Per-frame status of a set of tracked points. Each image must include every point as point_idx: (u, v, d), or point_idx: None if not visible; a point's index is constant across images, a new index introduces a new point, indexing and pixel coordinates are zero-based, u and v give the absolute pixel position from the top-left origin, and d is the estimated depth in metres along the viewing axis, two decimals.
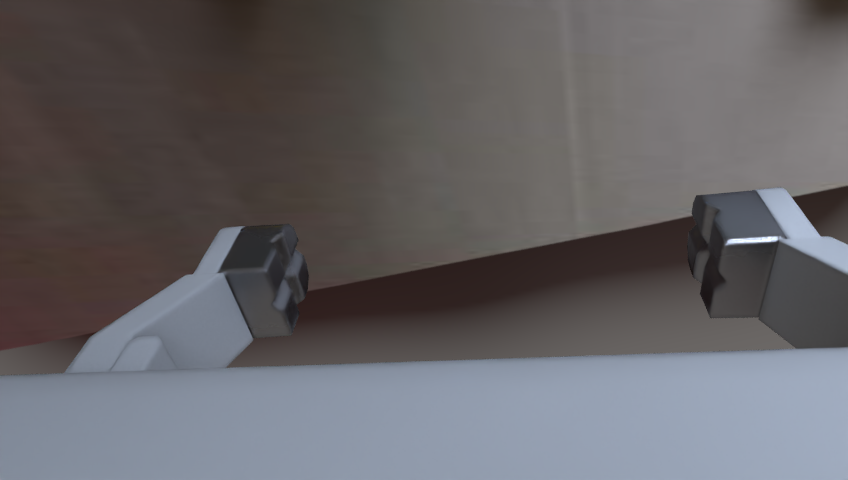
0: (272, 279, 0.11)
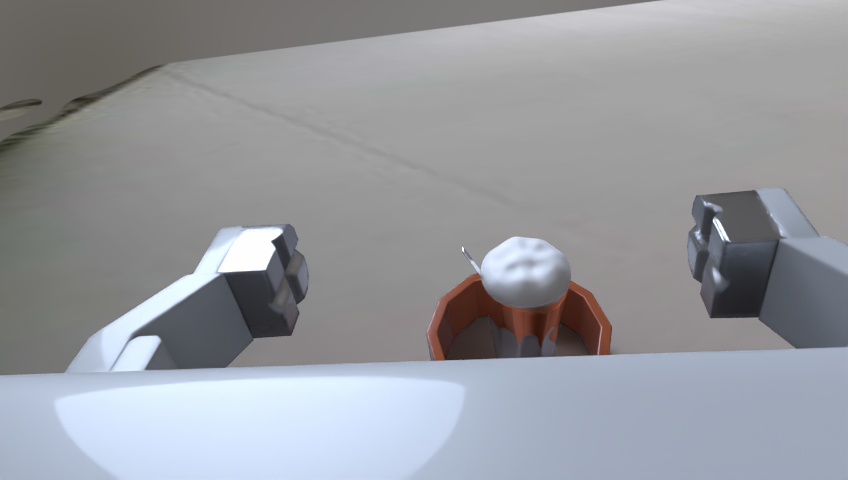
0: (272, 279, 0.11)
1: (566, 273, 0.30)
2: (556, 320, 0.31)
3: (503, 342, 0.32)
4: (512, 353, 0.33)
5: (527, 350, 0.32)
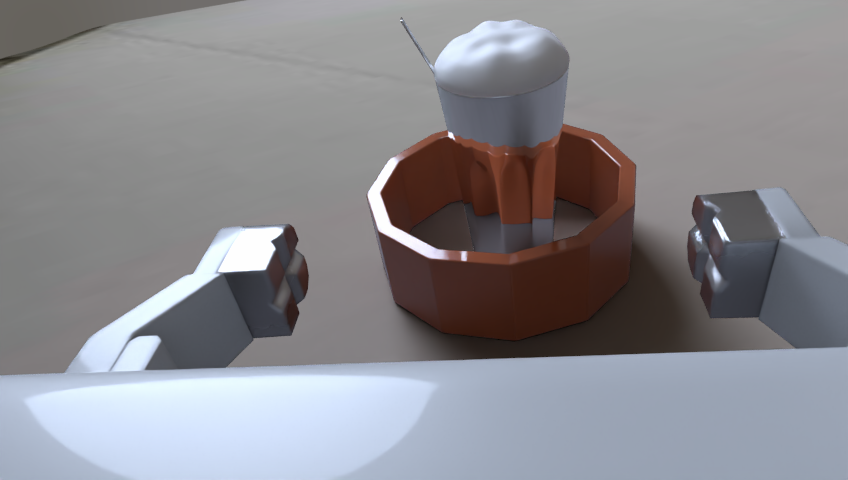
0: (272, 280, 0.11)
1: (562, 50, 0.19)
2: (552, 136, 0.20)
3: (475, 187, 0.22)
4: (490, 205, 0.22)
5: (512, 194, 0.21)
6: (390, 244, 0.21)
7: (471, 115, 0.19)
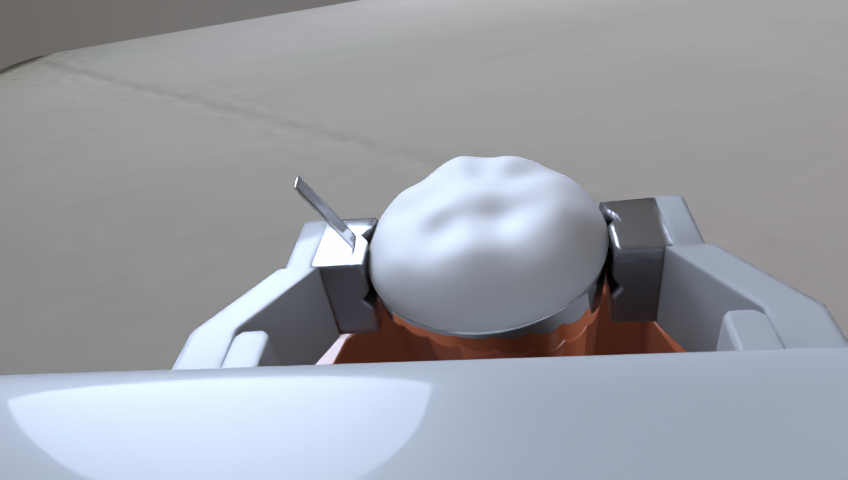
0: (366, 274, 0.11)
1: (595, 226, 0.10)
2: None
3: None
4: None
5: None
6: None
7: (432, 350, 0.11)
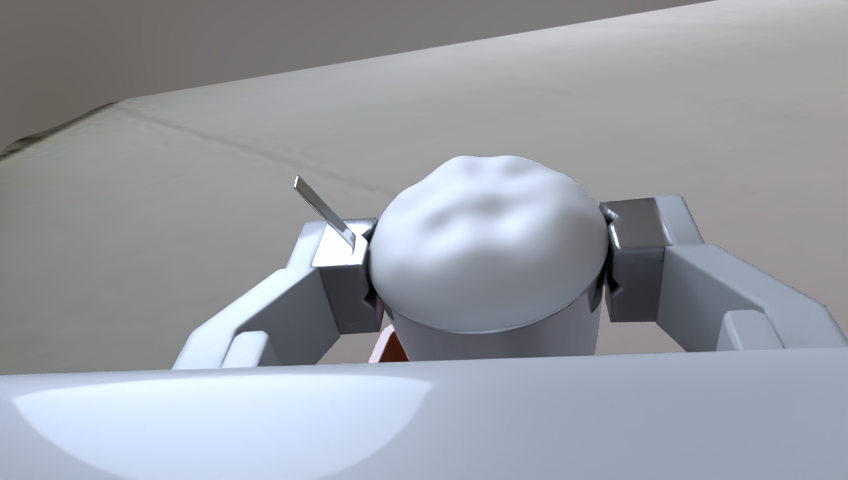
0: (366, 274, 0.11)
1: (595, 226, 0.10)
2: None
3: None
4: None
5: None
6: None
7: (432, 349, 0.11)
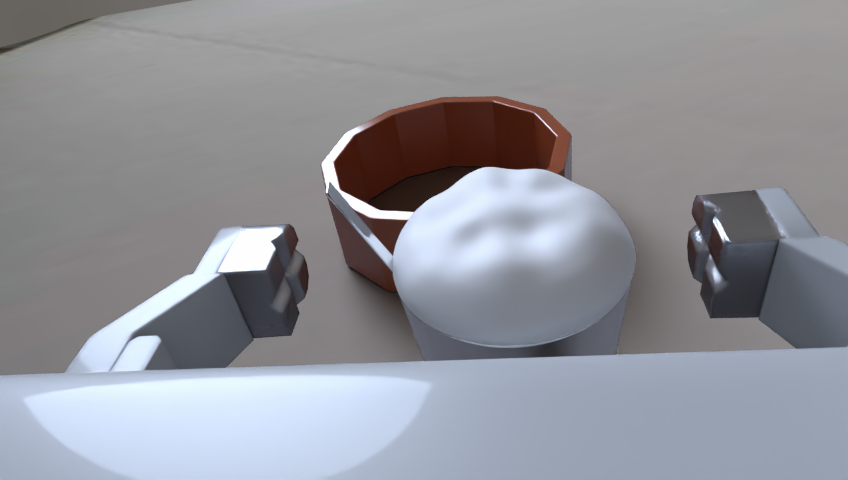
0: (272, 279, 0.11)
1: (624, 244, 0.10)
2: None
3: None
4: None
5: None
6: None
7: None
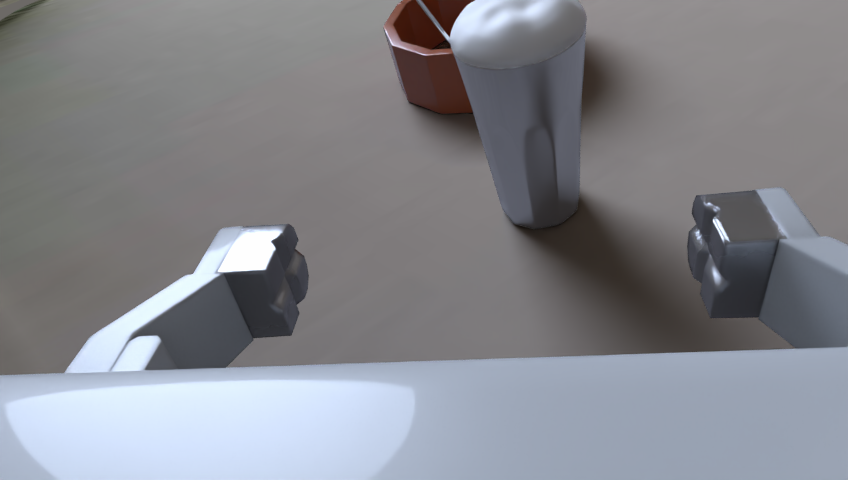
0: (272, 279, 0.11)
1: (578, 10, 0.19)
2: (572, 98, 0.20)
3: (499, 151, 0.22)
4: (514, 168, 0.22)
5: (535, 156, 0.22)
6: (400, 52, 0.31)
7: (490, 85, 0.20)
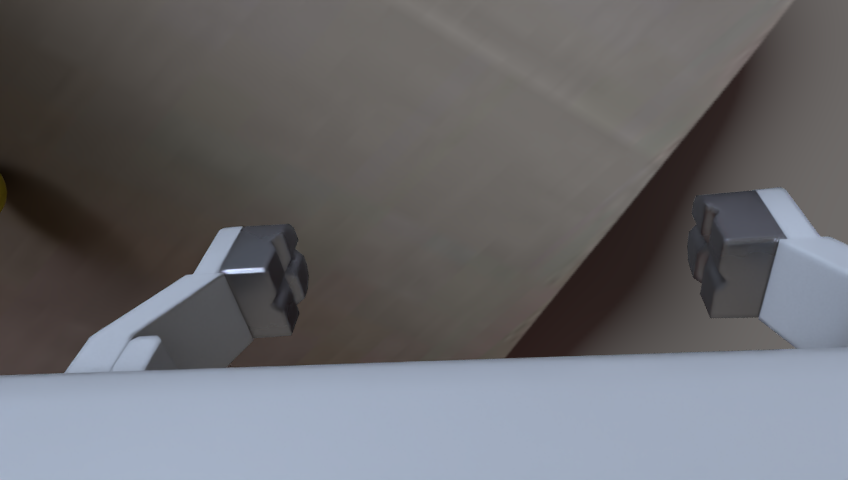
0: (272, 279, 0.11)
1: None
2: None
3: None
4: None
5: None
6: None
7: None
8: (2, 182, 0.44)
